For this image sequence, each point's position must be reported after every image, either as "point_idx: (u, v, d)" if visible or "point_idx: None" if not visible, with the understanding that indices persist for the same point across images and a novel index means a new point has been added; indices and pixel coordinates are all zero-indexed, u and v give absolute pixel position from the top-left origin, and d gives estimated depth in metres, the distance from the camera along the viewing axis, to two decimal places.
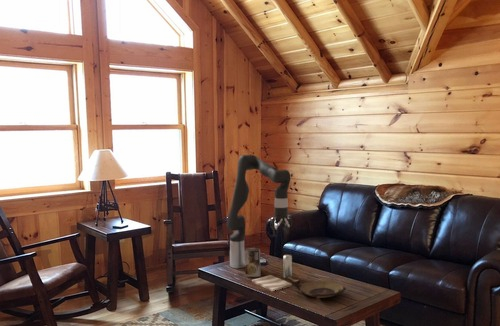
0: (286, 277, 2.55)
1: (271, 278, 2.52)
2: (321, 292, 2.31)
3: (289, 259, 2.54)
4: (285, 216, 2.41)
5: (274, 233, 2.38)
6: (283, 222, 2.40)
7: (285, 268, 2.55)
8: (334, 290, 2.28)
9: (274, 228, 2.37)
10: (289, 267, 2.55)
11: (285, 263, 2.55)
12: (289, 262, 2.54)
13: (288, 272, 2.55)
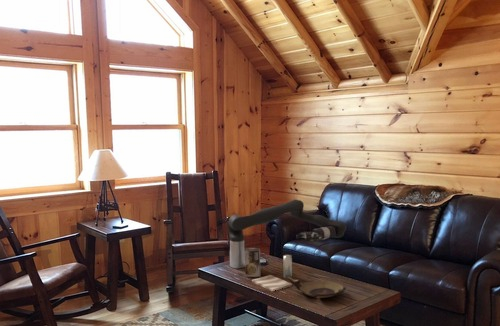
0: (286, 277, 2.55)
1: (271, 278, 2.52)
2: (321, 292, 2.31)
3: (289, 259, 2.54)
4: None
5: (309, 240, 2.58)
6: None
7: (285, 268, 2.55)
8: (334, 290, 2.28)
9: (312, 239, 2.60)
10: (289, 267, 2.55)
11: (285, 263, 2.55)
12: (289, 262, 2.54)
13: (288, 272, 2.55)
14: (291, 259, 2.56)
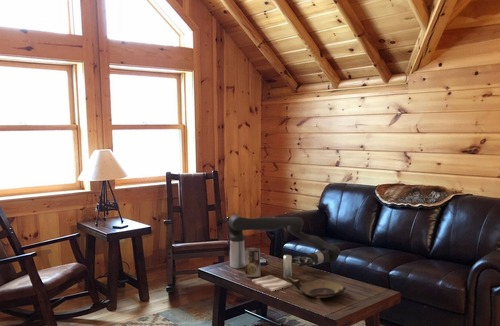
0: (286, 277, 2.55)
1: (271, 278, 2.52)
2: (321, 292, 2.31)
3: (289, 259, 2.54)
4: None
5: (302, 265, 2.57)
6: None
7: (285, 268, 2.55)
8: (334, 290, 2.28)
9: None
10: (289, 267, 2.55)
11: (285, 263, 2.55)
12: (289, 262, 2.54)
13: (288, 272, 2.55)
14: (291, 259, 2.55)
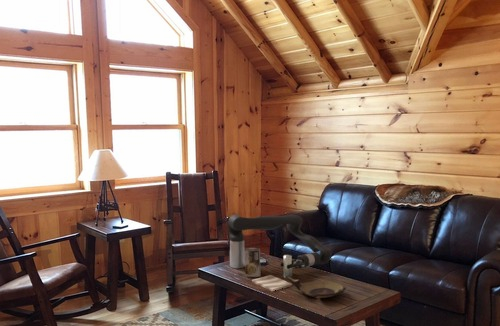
0: (286, 277, 2.55)
1: (271, 278, 2.52)
2: (321, 292, 2.31)
3: (289, 259, 2.54)
4: None
5: (290, 267, 2.53)
6: None
7: (285, 268, 2.55)
8: (334, 290, 2.28)
9: None
10: None
11: (285, 263, 2.55)
12: (289, 262, 2.54)
13: (288, 272, 2.55)
14: (291, 259, 2.55)
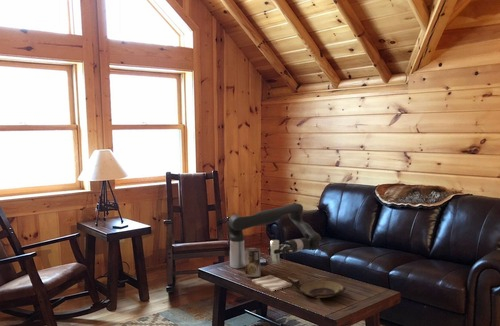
0: (273, 263, 2.46)
1: (271, 278, 2.52)
2: (321, 292, 2.31)
3: (276, 244, 2.45)
4: None
5: (277, 252, 2.44)
6: None
7: (272, 253, 2.46)
8: (334, 290, 2.28)
9: None
10: None
11: (272, 248, 2.46)
12: (276, 247, 2.45)
13: (275, 257, 2.45)
14: (278, 244, 2.46)
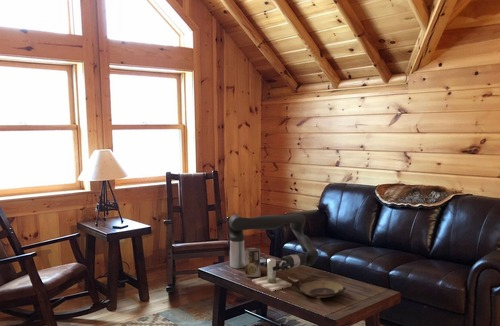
0: (270, 281, 2.44)
1: None
2: (321, 292, 2.31)
3: (273, 263, 2.44)
4: None
5: (276, 269, 2.41)
6: None
7: (269, 272, 2.44)
8: (334, 290, 2.28)
9: (280, 269, 2.43)
10: (273, 271, 2.44)
11: (269, 267, 2.44)
12: (273, 266, 2.44)
13: (272, 276, 2.44)
14: (275, 263, 2.45)
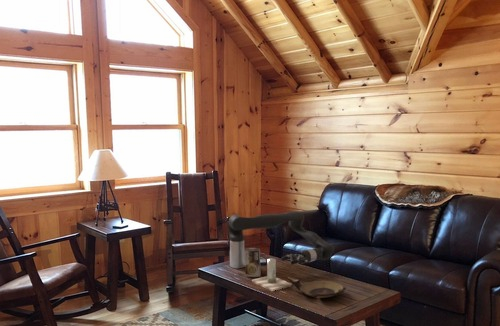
0: (270, 281, 2.44)
1: None
2: (321, 292, 2.31)
3: (273, 263, 2.44)
4: None
5: (294, 263, 2.49)
6: None
7: (269, 272, 2.44)
8: (334, 290, 2.28)
9: (298, 262, 2.51)
10: (273, 271, 2.44)
11: (269, 267, 2.44)
12: (273, 266, 2.44)
13: (272, 276, 2.44)
14: (275, 263, 2.45)
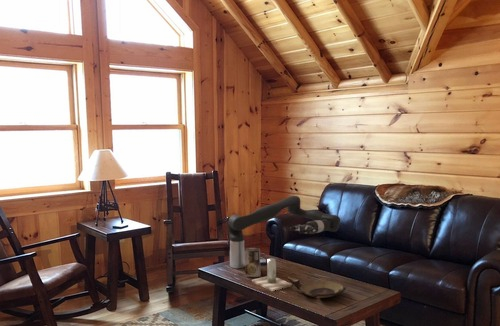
0: (270, 281, 2.44)
1: None
2: (321, 292, 2.31)
3: (273, 263, 2.43)
4: None
5: (302, 232, 2.53)
6: None
7: (269, 272, 2.44)
8: (334, 290, 2.28)
9: None
10: (273, 271, 2.44)
11: (269, 267, 2.44)
12: (273, 266, 2.44)
13: (272, 276, 2.44)
14: (275, 263, 2.45)
